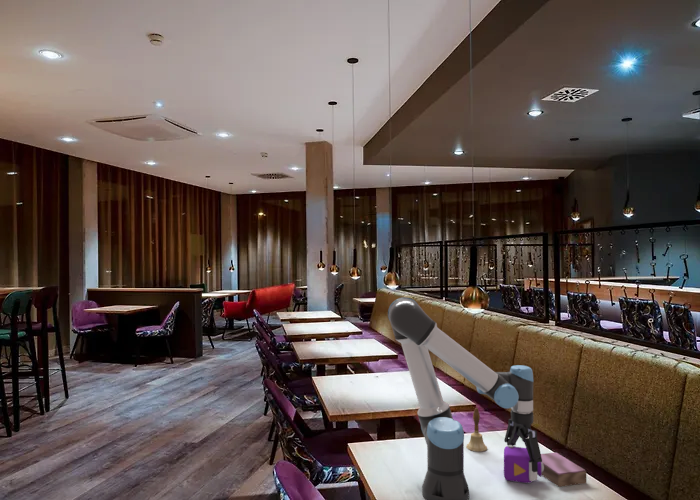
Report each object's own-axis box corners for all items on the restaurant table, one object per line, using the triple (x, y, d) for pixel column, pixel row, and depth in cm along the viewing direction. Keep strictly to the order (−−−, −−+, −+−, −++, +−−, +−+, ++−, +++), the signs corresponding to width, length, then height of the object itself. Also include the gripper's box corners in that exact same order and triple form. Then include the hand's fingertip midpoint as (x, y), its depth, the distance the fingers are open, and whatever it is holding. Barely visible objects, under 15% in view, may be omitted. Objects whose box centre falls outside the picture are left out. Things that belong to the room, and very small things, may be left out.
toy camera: (547, 486, 165) (547, 456, 166) (505, 484, 167) (505, 454, 167) (538, 472, 176) (538, 444, 176) (499, 470, 178) (499, 442, 178)
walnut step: (558, 486, 165) (558, 473, 165) (530, 466, 181) (530, 454, 181) (586, 483, 168) (586, 470, 168) (556, 463, 183) (556, 452, 183)
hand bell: (462, 446, 200) (461, 407, 200) (477, 442, 204) (477, 404, 204) (476, 453, 193) (476, 413, 193) (491, 449, 197) (491, 409, 197)
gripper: (553, 420, 161) (553, 486, 161) (512, 399, 185) (512, 457, 185) (533, 422, 160) (533, 489, 159) (494, 401, 183) (494, 459, 183)
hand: (522, 472), depth 172 cm, fingers closed on toy camera, 12 cm apart
